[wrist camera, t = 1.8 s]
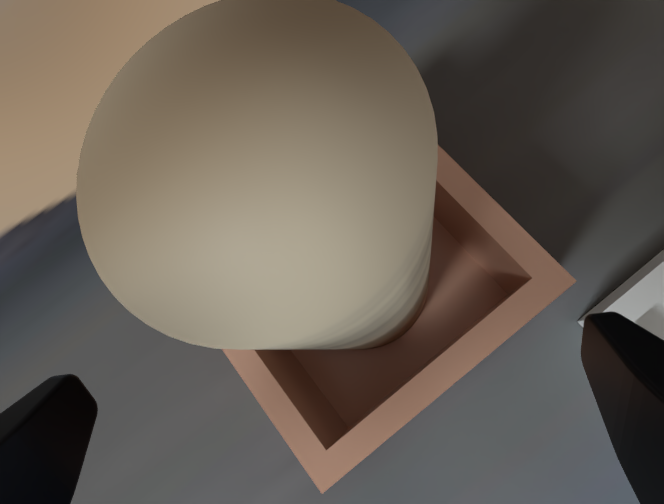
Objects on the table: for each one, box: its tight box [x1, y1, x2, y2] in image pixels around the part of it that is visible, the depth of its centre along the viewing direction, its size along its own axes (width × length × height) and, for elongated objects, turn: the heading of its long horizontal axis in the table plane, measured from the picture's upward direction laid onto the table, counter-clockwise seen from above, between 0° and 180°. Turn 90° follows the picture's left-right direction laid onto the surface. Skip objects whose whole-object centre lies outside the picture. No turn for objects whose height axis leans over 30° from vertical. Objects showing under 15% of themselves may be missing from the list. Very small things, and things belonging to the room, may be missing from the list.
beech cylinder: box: [76, 0, 438, 350], centre depth 12 cm, size 5×5×12 cm
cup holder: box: [222, 145, 576, 493], centre depth 16 cm, size 9×9×4 cm
